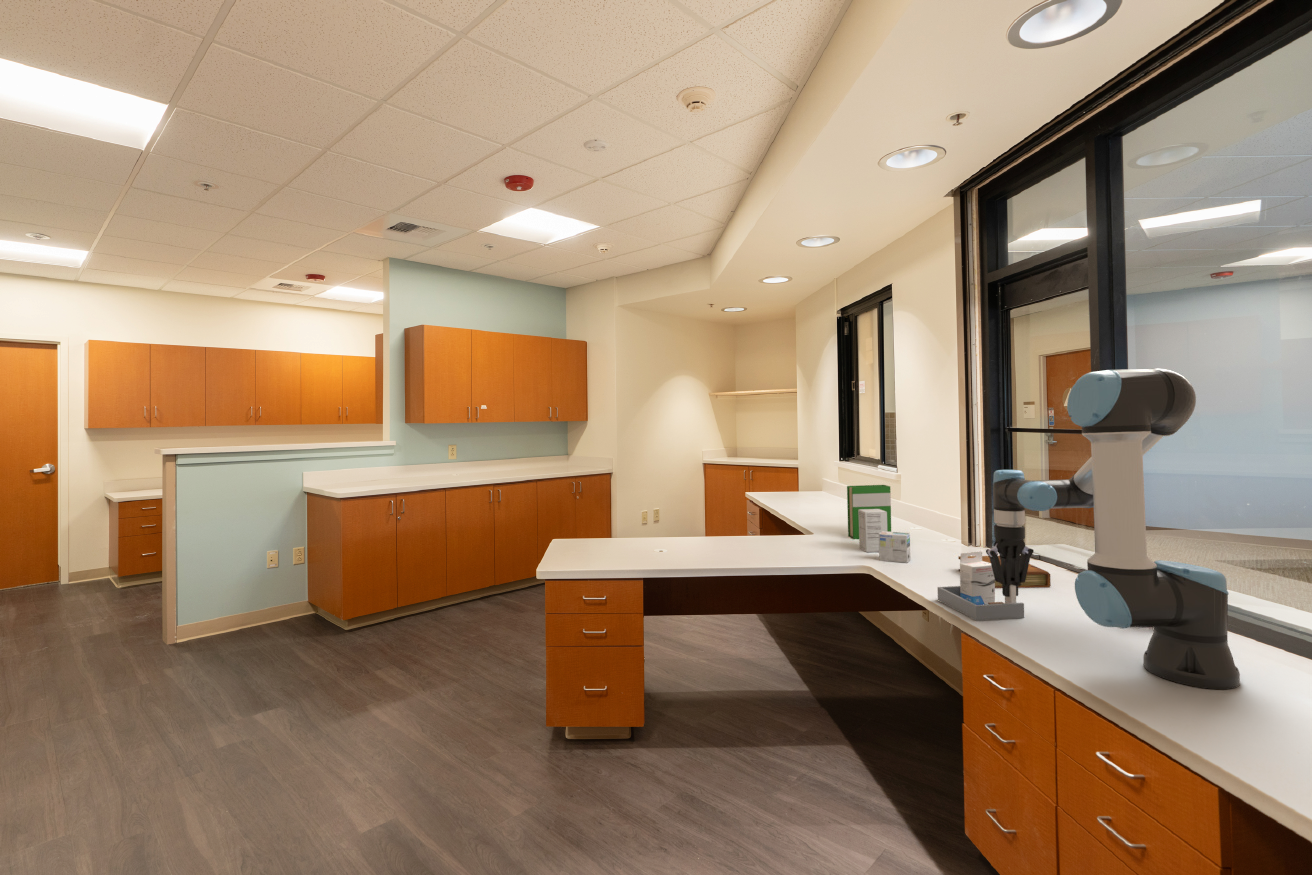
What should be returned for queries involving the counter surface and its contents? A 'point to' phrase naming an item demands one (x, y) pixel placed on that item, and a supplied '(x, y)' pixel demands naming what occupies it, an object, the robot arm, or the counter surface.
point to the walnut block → (996, 603)
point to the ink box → (976, 579)
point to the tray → (979, 606)
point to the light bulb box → (894, 546)
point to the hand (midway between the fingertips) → (1010, 607)
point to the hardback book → (867, 504)
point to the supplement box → (871, 528)
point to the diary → (1027, 576)
